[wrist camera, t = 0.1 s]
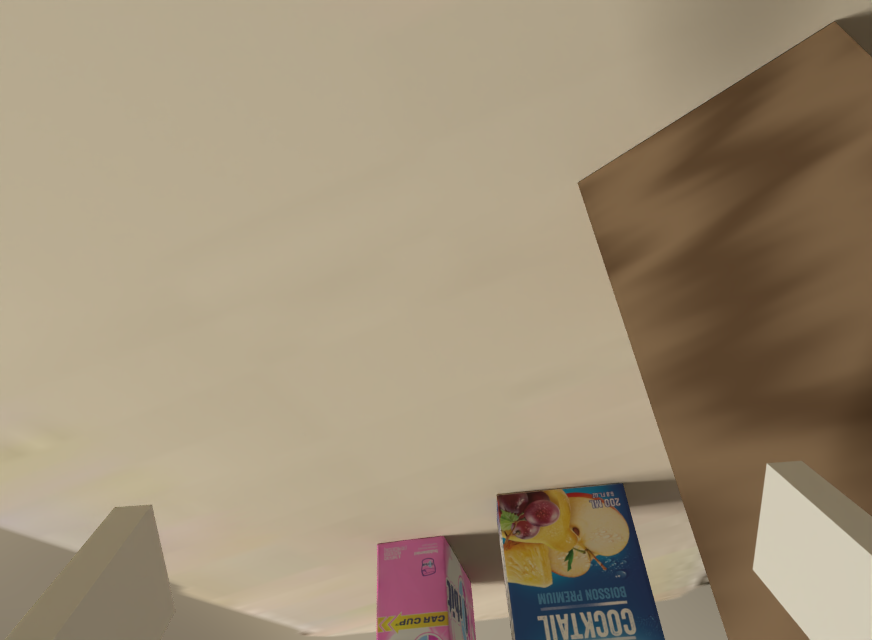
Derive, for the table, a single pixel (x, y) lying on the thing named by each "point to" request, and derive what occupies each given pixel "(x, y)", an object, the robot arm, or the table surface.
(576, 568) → the blue food carton
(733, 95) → the wooden pedestal stand
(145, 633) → the robot arm
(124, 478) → the table surface
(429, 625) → the gum box
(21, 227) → the table surface
